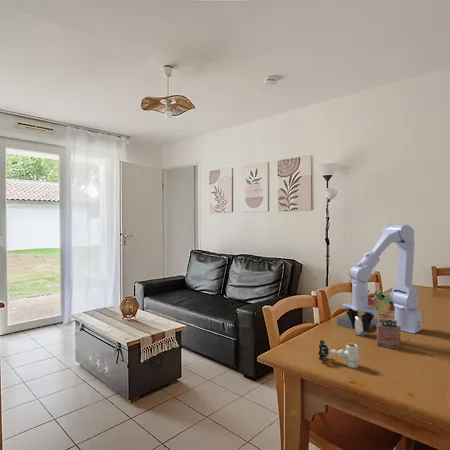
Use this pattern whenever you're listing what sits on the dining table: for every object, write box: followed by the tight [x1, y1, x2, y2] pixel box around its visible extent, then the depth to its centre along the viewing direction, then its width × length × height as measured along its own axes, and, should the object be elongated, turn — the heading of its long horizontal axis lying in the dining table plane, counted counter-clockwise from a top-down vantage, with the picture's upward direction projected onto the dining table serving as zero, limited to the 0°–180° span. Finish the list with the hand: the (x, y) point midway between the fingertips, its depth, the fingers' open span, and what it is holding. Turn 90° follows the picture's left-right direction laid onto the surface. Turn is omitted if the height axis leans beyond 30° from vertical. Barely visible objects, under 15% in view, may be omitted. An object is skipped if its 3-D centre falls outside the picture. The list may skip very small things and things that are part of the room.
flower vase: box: [368, 289, 392, 311], centre depth 169 cm, size 12×12×35 cm
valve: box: [317, 339, 360, 369], centre depth 106 cm, size 7×7×12 cm
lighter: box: [375, 317, 402, 349], centre depth 119 cm, size 8×3×10 cm, turn 71°
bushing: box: [354, 314, 367, 337], centre depth 131 cm, size 4×4×7 cm
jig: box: [336, 313, 379, 330], centre depth 143 cm, size 12×12×3 cm
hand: (360, 329), depth 132 cm, fingers closed on bushing, 4 cm apart
